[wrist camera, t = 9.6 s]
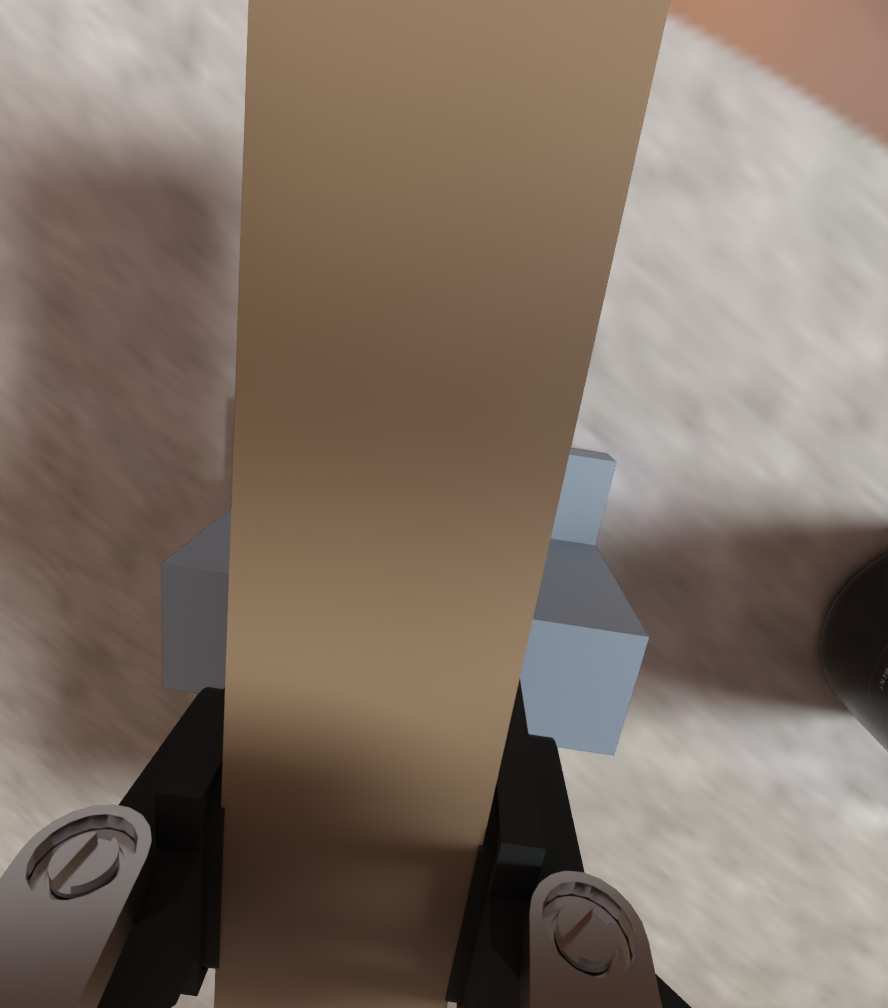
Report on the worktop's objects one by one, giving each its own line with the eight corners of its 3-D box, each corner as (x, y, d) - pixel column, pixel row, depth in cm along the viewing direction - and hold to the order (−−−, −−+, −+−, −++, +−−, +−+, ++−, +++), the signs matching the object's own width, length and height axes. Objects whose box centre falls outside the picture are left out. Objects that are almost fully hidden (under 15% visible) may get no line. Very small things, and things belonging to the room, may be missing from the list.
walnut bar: (402, 1022, 14) (375, 1326, 10) (283, 1005, 14) (204, 1304, 10) (578, 90, 8) (710, -182, 4) (368, 55, 8) (258, -257, 4)
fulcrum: (551, 685, 19) (588, 842, 13) (255, 640, 19) (163, 778, 13) (608, 453, 16) (683, 522, 11) (267, 401, 16) (161, 442, 11)
